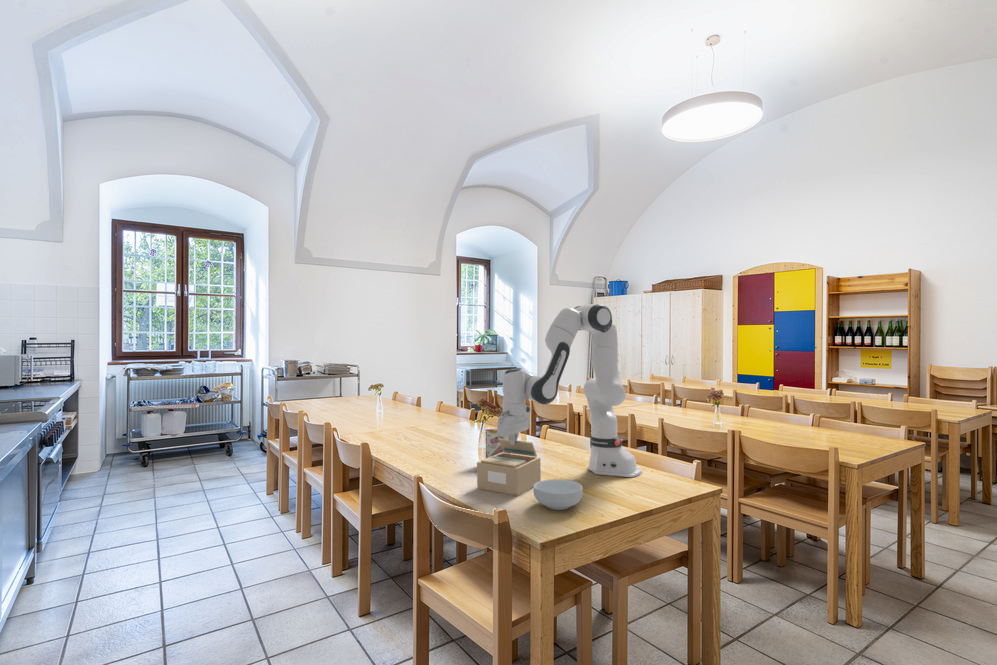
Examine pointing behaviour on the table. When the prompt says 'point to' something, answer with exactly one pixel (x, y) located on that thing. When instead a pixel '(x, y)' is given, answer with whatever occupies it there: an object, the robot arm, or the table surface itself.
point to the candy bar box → (493, 442)
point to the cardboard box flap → (518, 447)
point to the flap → (503, 461)
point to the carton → (509, 475)
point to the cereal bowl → (558, 493)
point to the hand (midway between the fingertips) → (513, 444)
